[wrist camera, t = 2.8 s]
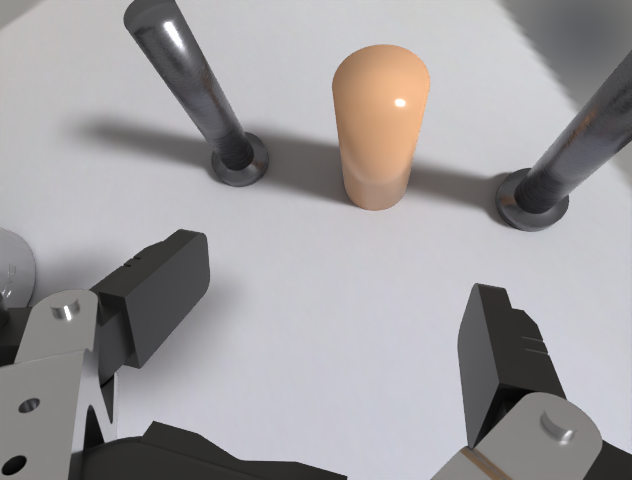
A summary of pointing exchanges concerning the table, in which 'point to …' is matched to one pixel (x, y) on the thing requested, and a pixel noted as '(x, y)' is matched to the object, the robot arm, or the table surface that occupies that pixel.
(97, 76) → the table surface
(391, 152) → the canister
